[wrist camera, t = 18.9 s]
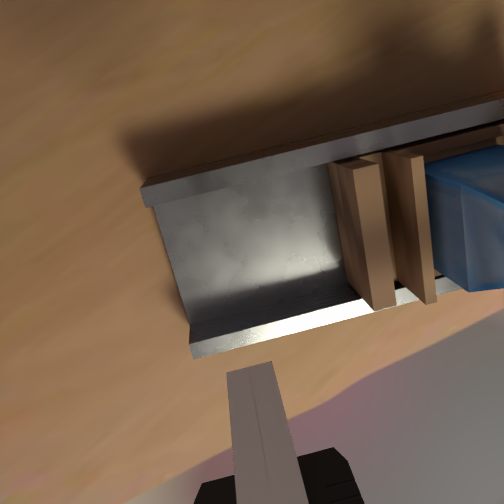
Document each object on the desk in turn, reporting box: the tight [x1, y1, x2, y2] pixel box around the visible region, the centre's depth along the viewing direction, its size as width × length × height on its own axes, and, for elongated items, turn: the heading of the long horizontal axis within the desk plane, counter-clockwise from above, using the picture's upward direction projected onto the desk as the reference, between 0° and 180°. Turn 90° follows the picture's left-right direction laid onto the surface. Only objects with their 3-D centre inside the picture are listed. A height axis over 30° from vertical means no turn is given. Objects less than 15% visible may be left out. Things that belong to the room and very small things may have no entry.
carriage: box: [327, 119, 504, 311], centre depth 28 cm, size 9×12×6 cm
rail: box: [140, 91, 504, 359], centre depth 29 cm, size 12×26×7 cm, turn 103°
